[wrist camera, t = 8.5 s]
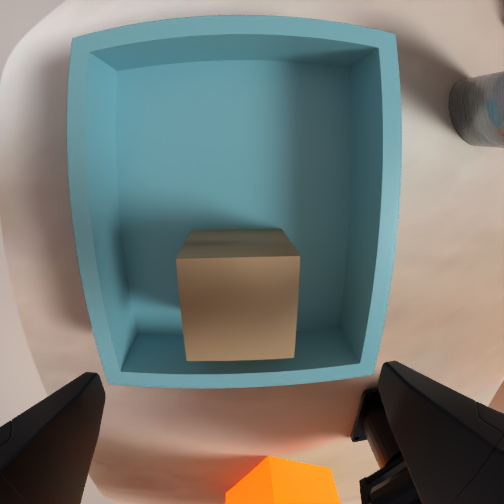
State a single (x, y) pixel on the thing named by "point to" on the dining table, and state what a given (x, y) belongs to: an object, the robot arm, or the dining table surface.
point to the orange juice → (285, 484)
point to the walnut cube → (238, 294)
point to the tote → (234, 183)
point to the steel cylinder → (479, 109)
